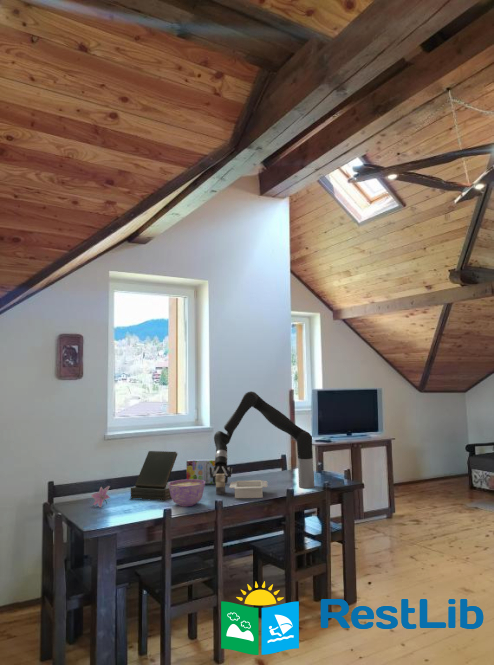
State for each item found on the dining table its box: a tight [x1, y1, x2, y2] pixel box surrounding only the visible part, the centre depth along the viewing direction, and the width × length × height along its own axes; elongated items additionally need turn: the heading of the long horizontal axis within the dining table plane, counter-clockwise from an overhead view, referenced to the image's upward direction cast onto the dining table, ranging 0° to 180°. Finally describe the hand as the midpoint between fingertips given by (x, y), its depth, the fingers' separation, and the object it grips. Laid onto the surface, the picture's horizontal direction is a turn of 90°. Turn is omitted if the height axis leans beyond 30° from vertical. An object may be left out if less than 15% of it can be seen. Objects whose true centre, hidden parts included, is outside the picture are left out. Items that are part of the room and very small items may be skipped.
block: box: [215, 473, 226, 495], centre depth 282 cm, size 5×5×11 cm
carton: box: [229, 479, 268, 499], centre depth 276 cm, size 22×22×6 cm
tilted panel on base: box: [130, 450, 178, 502], centre depth 281 cm, size 23×20×25 cm
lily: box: [91, 485, 111, 508], centre depth 262 cm, size 12×12×10 cm
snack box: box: [186, 458, 216, 485], centre depth 314 cm, size 21×6×15 cm, turn 84°
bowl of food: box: [168, 478, 206, 507], centre depth 257 cm, size 20×20×12 cm
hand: (220, 482), depth 281 cm, fingers open, 6 cm apart
